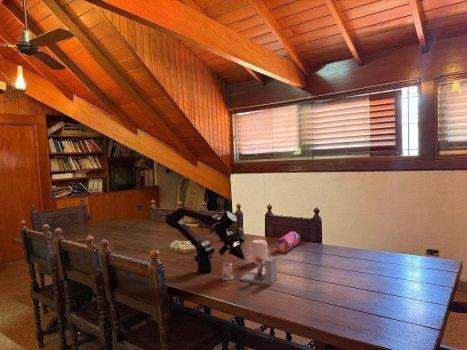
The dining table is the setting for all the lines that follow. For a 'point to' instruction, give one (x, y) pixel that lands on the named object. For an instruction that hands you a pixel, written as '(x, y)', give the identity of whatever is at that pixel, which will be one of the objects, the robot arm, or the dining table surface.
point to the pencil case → (287, 242)
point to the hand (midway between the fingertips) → (244, 259)
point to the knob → (227, 271)
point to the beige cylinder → (259, 250)
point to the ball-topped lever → (259, 269)
